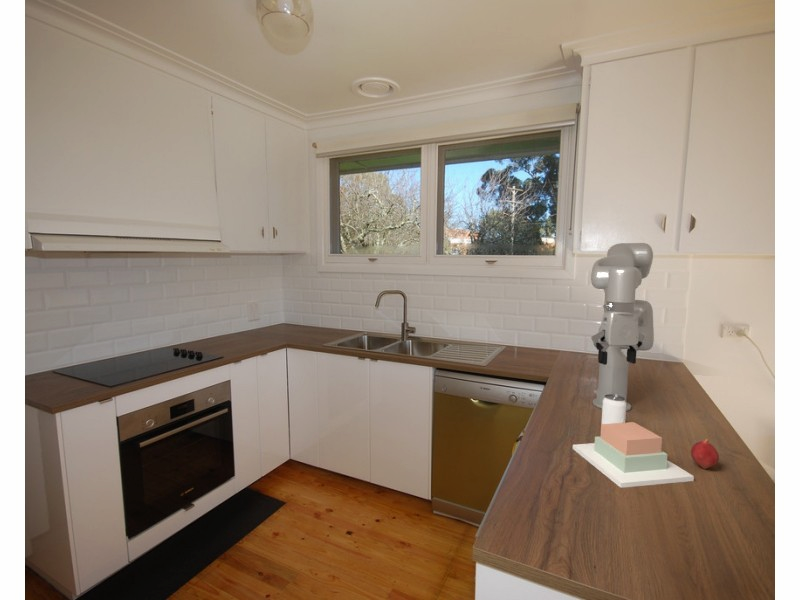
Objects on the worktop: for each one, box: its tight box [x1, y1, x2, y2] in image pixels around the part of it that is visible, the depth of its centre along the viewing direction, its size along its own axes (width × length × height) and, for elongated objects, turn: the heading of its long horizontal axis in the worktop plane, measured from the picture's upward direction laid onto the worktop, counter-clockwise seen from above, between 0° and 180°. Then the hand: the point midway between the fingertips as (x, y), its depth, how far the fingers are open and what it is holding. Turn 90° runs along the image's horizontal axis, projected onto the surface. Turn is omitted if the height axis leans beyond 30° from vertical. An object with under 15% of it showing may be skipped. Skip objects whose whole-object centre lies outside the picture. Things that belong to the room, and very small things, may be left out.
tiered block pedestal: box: [572, 421, 695, 489], centre depth 107 cm, size 20×20×9 cm
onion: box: [690, 439, 720, 470], centre depth 104 cm, size 6×6×8 cm
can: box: [601, 394, 627, 424], centre depth 124 cm, size 6×6×12 cm
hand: (616, 363), depth 122 cm, fingers open, 9 cm apart
